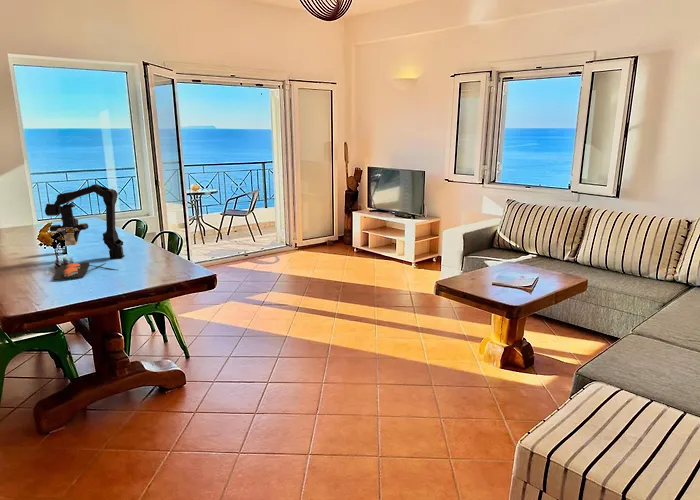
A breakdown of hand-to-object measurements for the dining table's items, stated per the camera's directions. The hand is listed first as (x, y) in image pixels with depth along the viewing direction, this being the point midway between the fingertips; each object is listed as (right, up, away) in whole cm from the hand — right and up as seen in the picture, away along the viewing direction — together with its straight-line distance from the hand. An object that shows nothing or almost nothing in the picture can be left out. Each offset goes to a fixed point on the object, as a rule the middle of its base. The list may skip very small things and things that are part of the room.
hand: (71, 242), depth 276 cm
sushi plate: (+21, -16, -21) cm, 34 cm away
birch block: (0, -1, 0) cm, 1 cm away
